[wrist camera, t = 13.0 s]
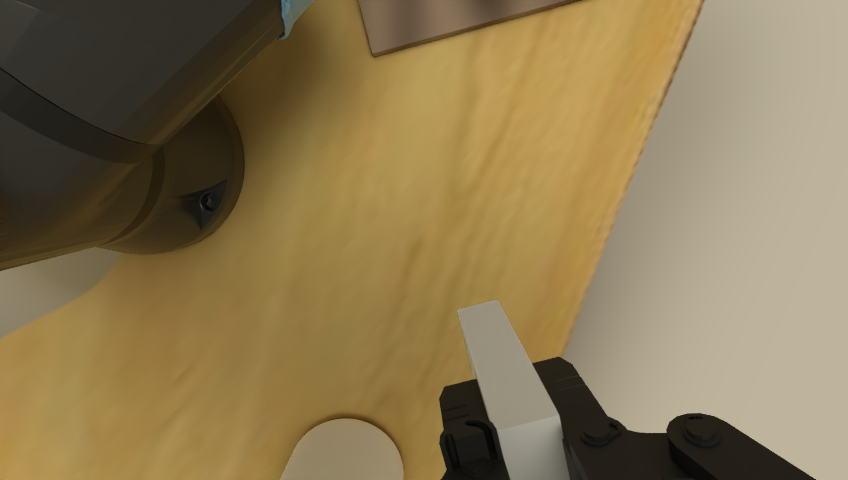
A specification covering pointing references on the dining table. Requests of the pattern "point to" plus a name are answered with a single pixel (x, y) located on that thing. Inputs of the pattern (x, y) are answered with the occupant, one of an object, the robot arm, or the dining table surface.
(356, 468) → the cup
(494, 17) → the key console
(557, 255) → the dining table surface
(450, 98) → the dining table surface
